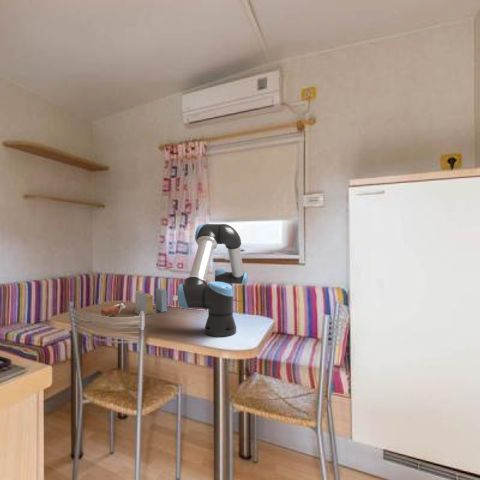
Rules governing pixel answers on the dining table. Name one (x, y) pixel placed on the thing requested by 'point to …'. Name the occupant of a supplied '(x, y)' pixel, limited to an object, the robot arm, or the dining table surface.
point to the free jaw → (161, 299)
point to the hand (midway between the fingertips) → (173, 298)
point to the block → (149, 304)
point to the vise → (143, 303)
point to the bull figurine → (112, 310)
